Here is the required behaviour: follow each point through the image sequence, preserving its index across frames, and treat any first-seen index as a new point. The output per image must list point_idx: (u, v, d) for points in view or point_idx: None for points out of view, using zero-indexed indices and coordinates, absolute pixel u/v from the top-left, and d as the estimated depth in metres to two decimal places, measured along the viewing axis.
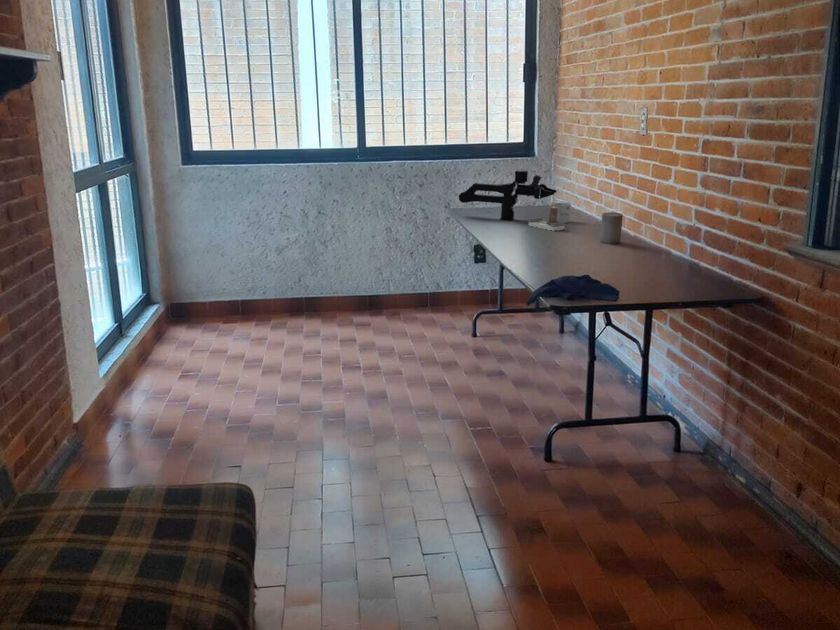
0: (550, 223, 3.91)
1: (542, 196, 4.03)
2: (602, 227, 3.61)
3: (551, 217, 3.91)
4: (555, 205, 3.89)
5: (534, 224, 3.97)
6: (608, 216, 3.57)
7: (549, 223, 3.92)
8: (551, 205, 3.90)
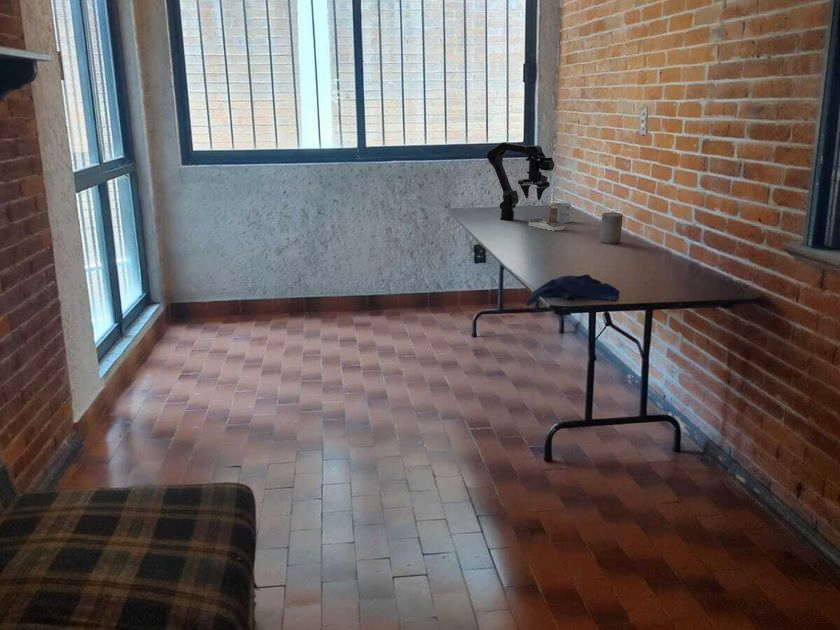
0: (550, 223, 3.91)
1: (539, 189, 3.98)
2: (602, 227, 3.61)
3: (551, 217, 3.91)
4: (555, 205, 3.89)
5: (534, 224, 3.97)
6: (608, 216, 3.57)
7: (549, 223, 3.92)
8: (551, 205, 3.90)
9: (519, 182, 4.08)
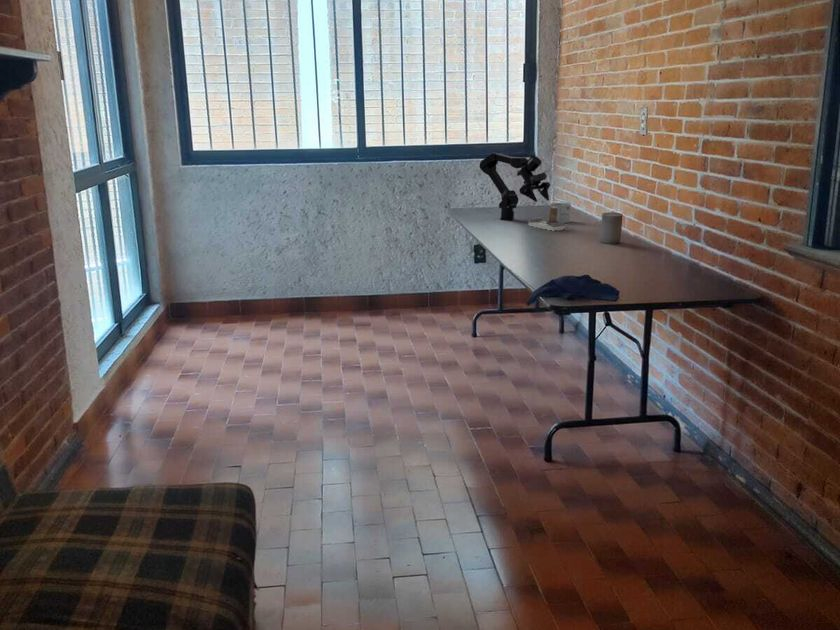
0: (550, 223, 3.91)
1: (526, 194, 3.95)
2: (602, 227, 3.61)
3: (551, 217, 3.91)
4: (555, 205, 3.89)
5: (534, 224, 3.97)
6: (608, 216, 3.57)
7: (549, 223, 3.92)
8: (551, 205, 3.90)
9: None
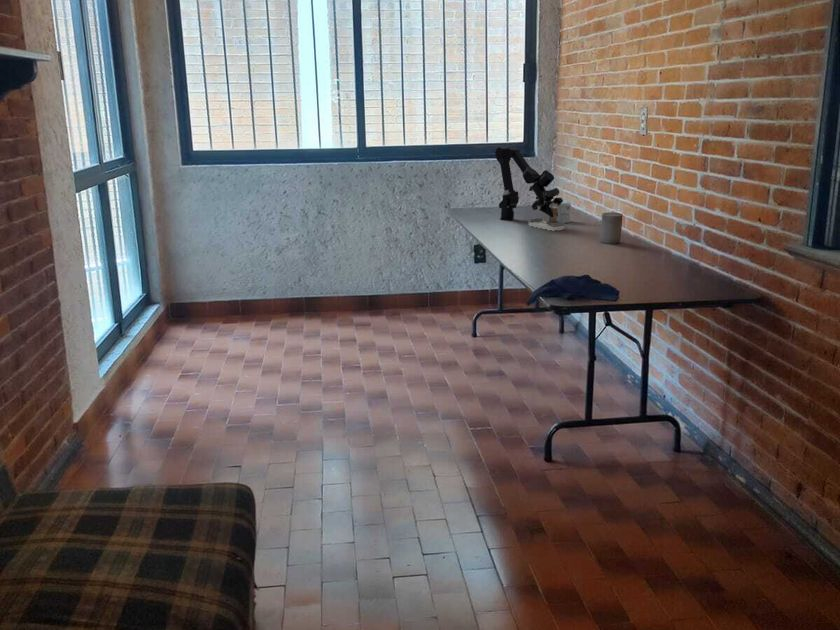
0: (550, 223, 3.91)
1: (542, 210, 3.92)
2: (602, 227, 3.61)
3: (551, 217, 3.91)
4: (555, 205, 3.89)
5: (534, 224, 3.97)
6: (608, 216, 3.57)
7: (549, 223, 3.92)
8: (551, 205, 3.90)
9: None
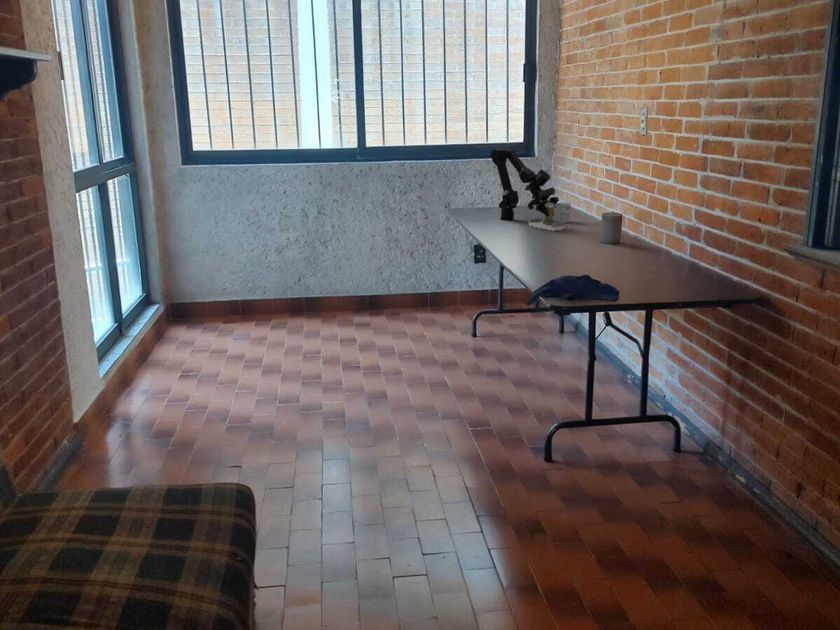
0: (546, 222, 3.93)
1: (538, 209, 3.94)
2: (602, 227, 3.61)
3: (547, 216, 3.93)
4: (551, 204, 3.91)
5: (534, 224, 3.97)
6: (608, 216, 3.57)
7: (545, 222, 3.94)
8: (547, 204, 3.92)
9: None
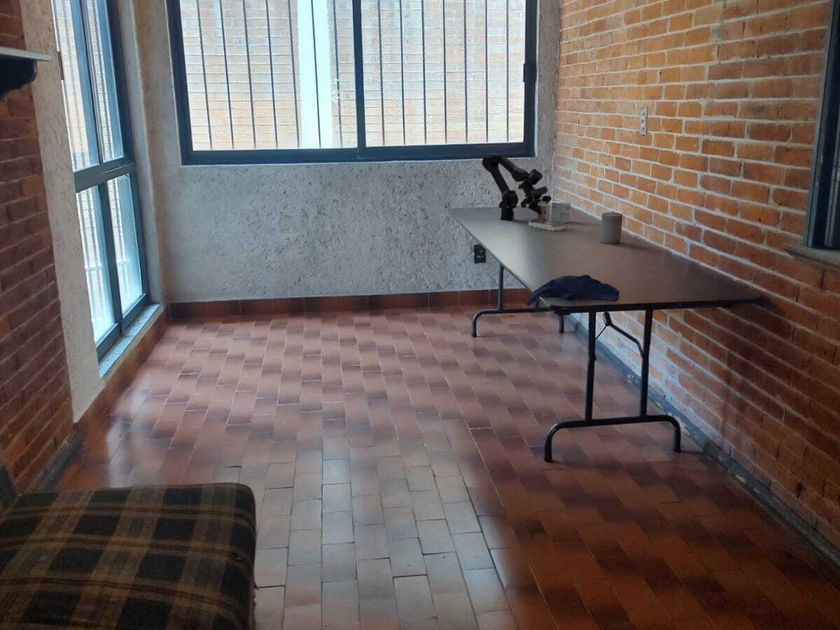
0: (539, 221, 3.97)
1: (531, 208, 3.98)
2: (602, 227, 3.61)
3: (540, 215, 3.97)
4: (543, 203, 3.95)
5: (534, 224, 3.97)
6: (608, 216, 3.57)
7: (538, 221, 3.97)
8: (539, 203, 3.96)
9: None
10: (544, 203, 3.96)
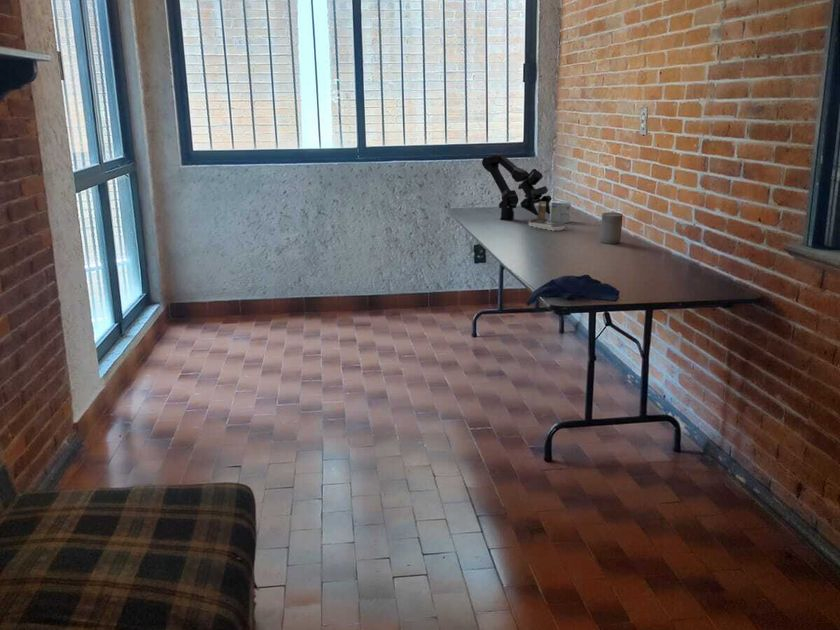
0: (539, 221, 3.97)
1: (527, 208, 3.96)
2: (602, 227, 3.61)
3: (540, 215, 3.97)
4: (543, 203, 3.95)
5: (534, 224, 3.97)
6: (608, 216, 3.57)
7: (538, 221, 3.97)
8: (539, 203, 3.96)
9: None
10: (544, 203, 3.96)
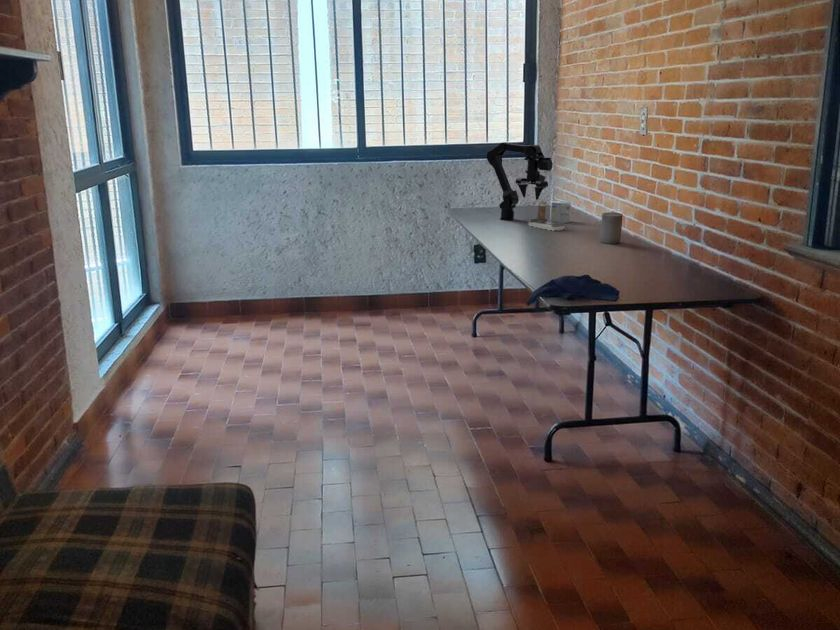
0: (539, 221, 3.97)
1: (538, 189, 3.99)
2: (602, 227, 3.61)
3: (540, 215, 3.97)
4: (543, 203, 3.95)
5: (534, 224, 3.97)
6: (608, 216, 3.57)
7: (538, 221, 3.97)
8: (539, 203, 3.96)
9: (517, 181, 4.08)
10: (544, 203, 3.96)
